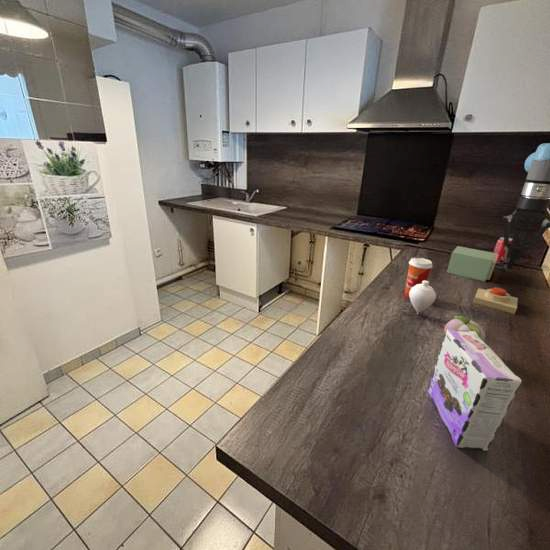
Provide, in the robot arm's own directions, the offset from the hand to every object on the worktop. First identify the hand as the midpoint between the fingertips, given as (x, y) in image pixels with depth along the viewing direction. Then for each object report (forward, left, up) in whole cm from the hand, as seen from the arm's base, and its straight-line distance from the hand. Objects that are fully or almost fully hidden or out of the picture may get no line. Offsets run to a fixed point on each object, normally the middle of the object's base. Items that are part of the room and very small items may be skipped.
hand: (509, 267), depth 100 cm
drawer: (+9, -26, -13) cm, 30 cm away
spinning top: (+20, +29, -14) cm, 38 cm away
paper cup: (+25, +16, -14) cm, 33 cm away
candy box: (+3, +67, -14) cm, 69 cm away
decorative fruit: (+6, +41, -14) cm, 44 cm away
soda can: (+3, -55, -14) cm, 56 cm away
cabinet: (+13, -26, -14) cm, 31 cm away
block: (+1, +1, -14) cm, 14 cm away
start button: (+1, +1, -10) cm, 10 cm away
